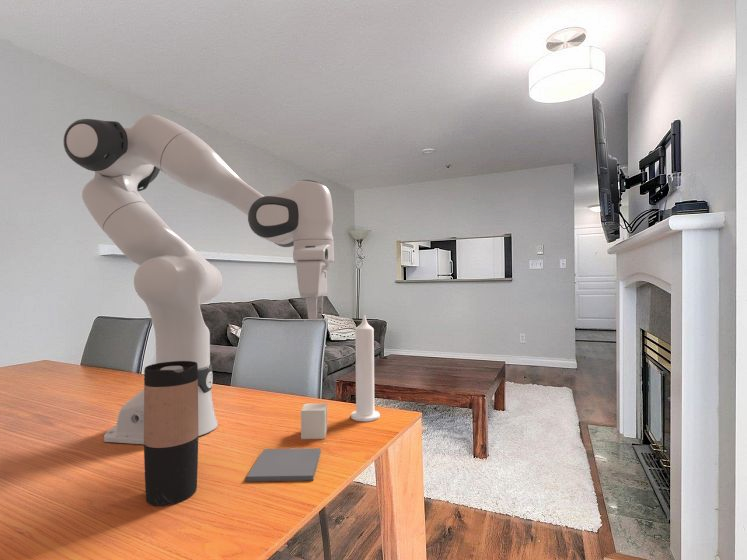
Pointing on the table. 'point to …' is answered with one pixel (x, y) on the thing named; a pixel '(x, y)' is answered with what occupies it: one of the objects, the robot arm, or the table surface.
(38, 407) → the table surface
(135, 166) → the robot arm
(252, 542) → the table surface
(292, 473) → the slate plate
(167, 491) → the travel mug
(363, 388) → the candle
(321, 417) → the cream block
